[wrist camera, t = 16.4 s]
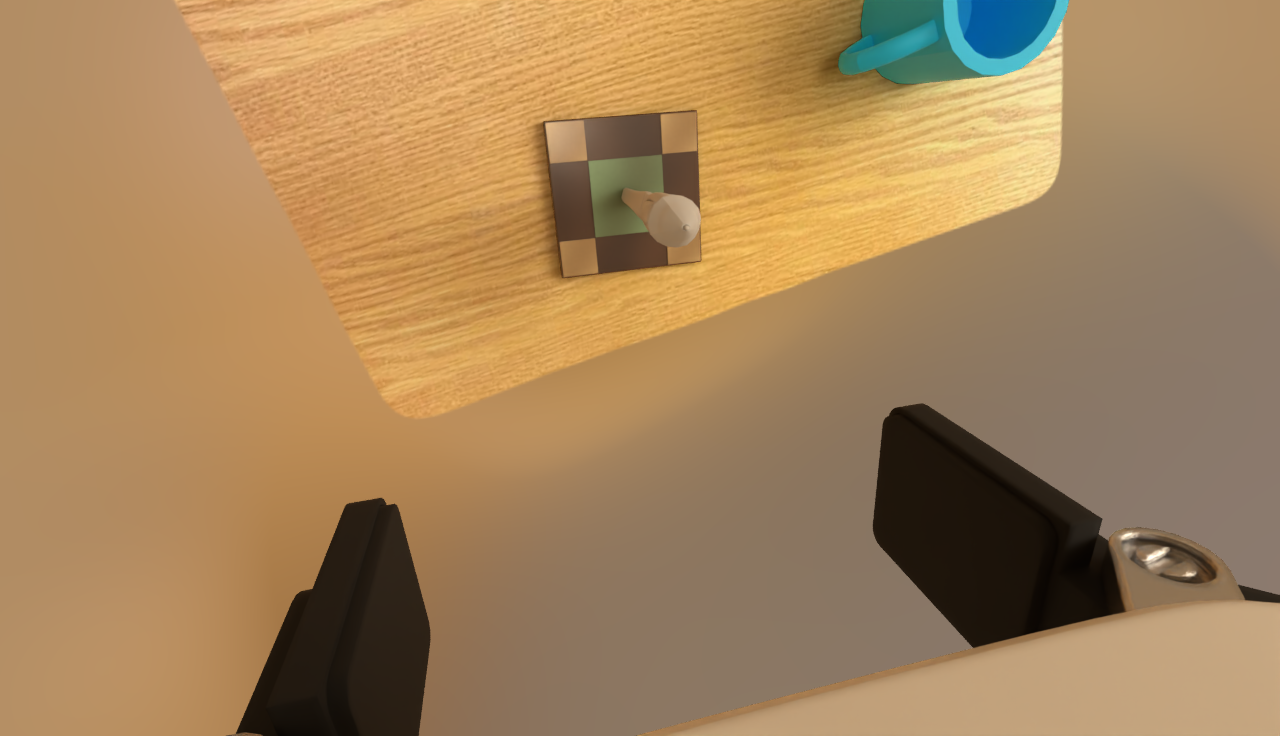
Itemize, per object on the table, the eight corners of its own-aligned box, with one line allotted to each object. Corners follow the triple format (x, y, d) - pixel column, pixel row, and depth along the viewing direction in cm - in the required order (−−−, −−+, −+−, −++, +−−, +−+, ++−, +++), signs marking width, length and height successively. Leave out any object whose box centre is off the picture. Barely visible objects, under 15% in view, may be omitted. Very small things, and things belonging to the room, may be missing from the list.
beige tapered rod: (640, 219, 41) (704, 262, 28) (602, 208, 40) (651, 247, 27) (651, 182, 40) (722, 209, 28) (613, 170, 39) (668, 192, 27)
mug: (956, -78, 39) (1063, -125, 32) (979, 51, 43) (1081, 35, 35) (794, 9, 39) (864, -18, 32) (831, 131, 42) (902, 132, 35)
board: (561, 276, 42) (562, 278, 41) (542, 121, 38) (543, 121, 37) (699, 260, 44) (702, 262, 43) (694, 110, 40) (697, 109, 39)
